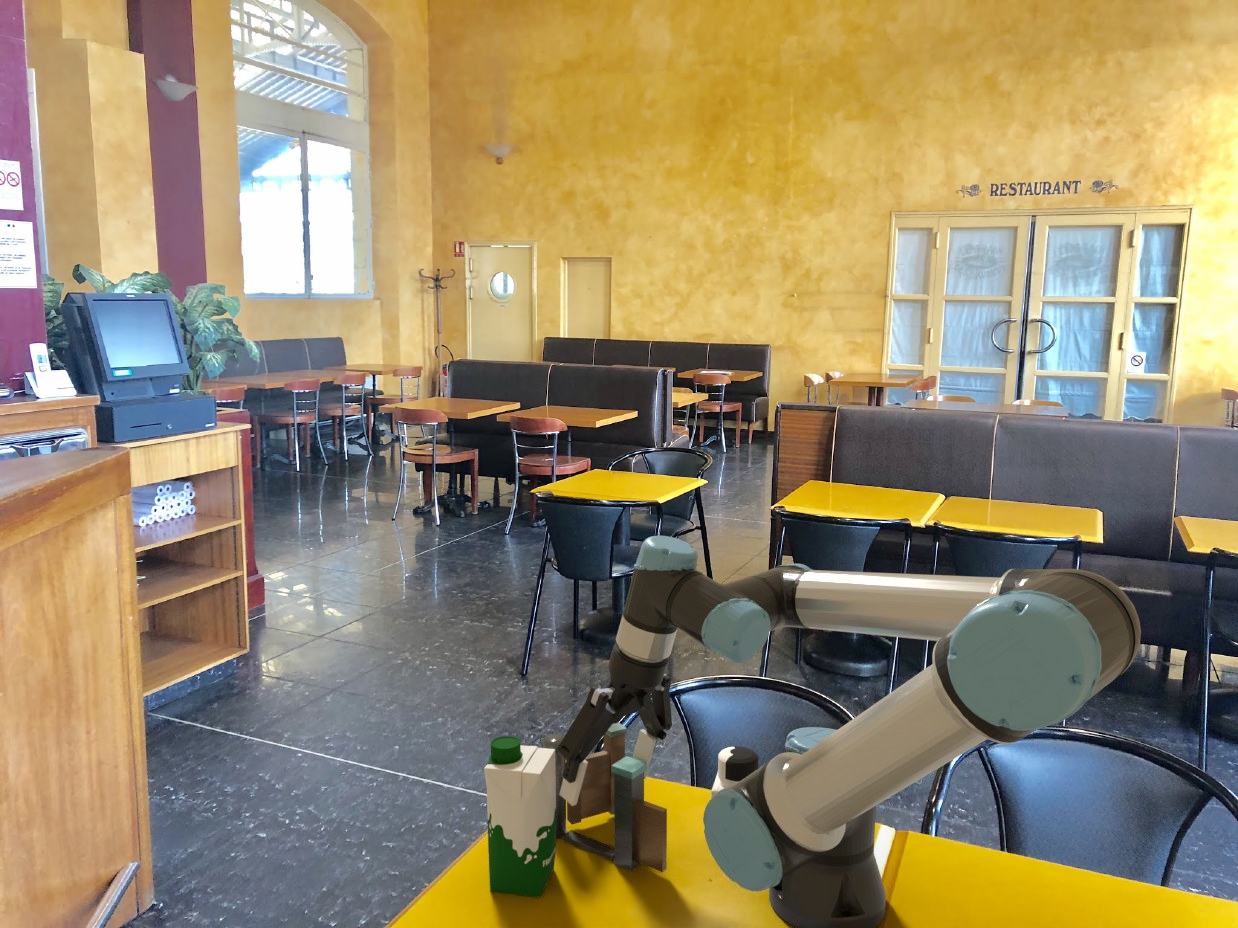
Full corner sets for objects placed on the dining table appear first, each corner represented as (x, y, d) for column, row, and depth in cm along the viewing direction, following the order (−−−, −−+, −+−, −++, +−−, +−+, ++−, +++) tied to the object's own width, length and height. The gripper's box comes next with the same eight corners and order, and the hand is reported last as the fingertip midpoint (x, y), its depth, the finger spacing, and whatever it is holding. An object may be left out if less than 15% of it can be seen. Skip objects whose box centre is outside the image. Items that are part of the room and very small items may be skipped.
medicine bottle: (762, 816, 147) (764, 744, 145) (758, 840, 140) (759, 765, 138) (717, 811, 149) (718, 739, 147) (710, 834, 142) (711, 759, 140)
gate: (617, 803, 149) (617, 721, 147) (626, 811, 146) (626, 728, 144) (565, 817, 144) (564, 733, 142) (573, 826, 142) (572, 741, 140)
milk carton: (502, 858, 135) (499, 727, 132) (562, 866, 134) (561, 732, 131) (481, 894, 127) (477, 754, 124) (545, 902, 125) (544, 761, 122)
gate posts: (671, 871, 132) (672, 770, 130) (657, 883, 129) (657, 781, 127) (554, 824, 145) (553, 732, 142) (539, 834, 142) (538, 740, 140)
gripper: (681, 623, 136) (645, 750, 141) (554, 650, 118) (517, 794, 123) (720, 648, 131) (681, 778, 137) (593, 680, 113) (554, 828, 119)
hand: (603, 786), depth 130 cm, fingers open, 13 cm apart
